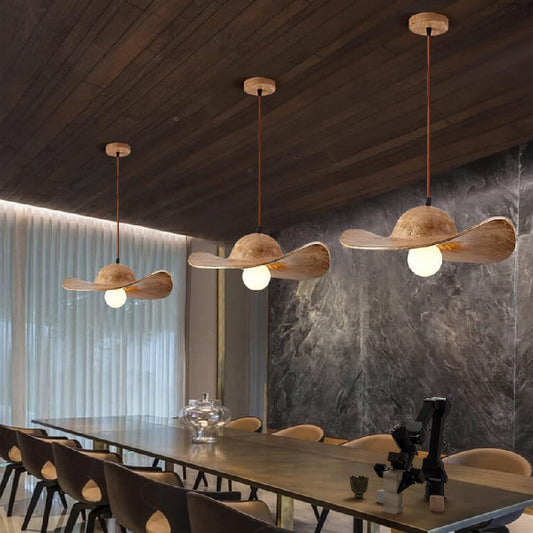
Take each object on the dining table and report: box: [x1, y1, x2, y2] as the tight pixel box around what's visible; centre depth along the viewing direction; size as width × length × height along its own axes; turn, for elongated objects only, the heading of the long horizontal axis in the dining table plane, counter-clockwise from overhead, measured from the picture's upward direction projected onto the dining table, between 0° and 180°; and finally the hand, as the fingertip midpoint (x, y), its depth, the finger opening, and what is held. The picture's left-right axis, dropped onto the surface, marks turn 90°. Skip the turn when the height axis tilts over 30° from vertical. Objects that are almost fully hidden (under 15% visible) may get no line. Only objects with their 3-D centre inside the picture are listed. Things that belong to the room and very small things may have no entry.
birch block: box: [382, 470, 404, 515], centre depth 257 cm, size 5×5×14 cm
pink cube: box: [429, 495, 445, 513], centre depth 260 cm, size 5×5×5 cm
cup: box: [349, 475, 369, 499], centre depth 279 cm, size 8×7×8 cm
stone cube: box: [376, 489, 383, 504], centre depth 272 cm, size 4×4×4 cm
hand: (391, 492), depth 256 cm, fingers closed on birch block, 5 cm apart
